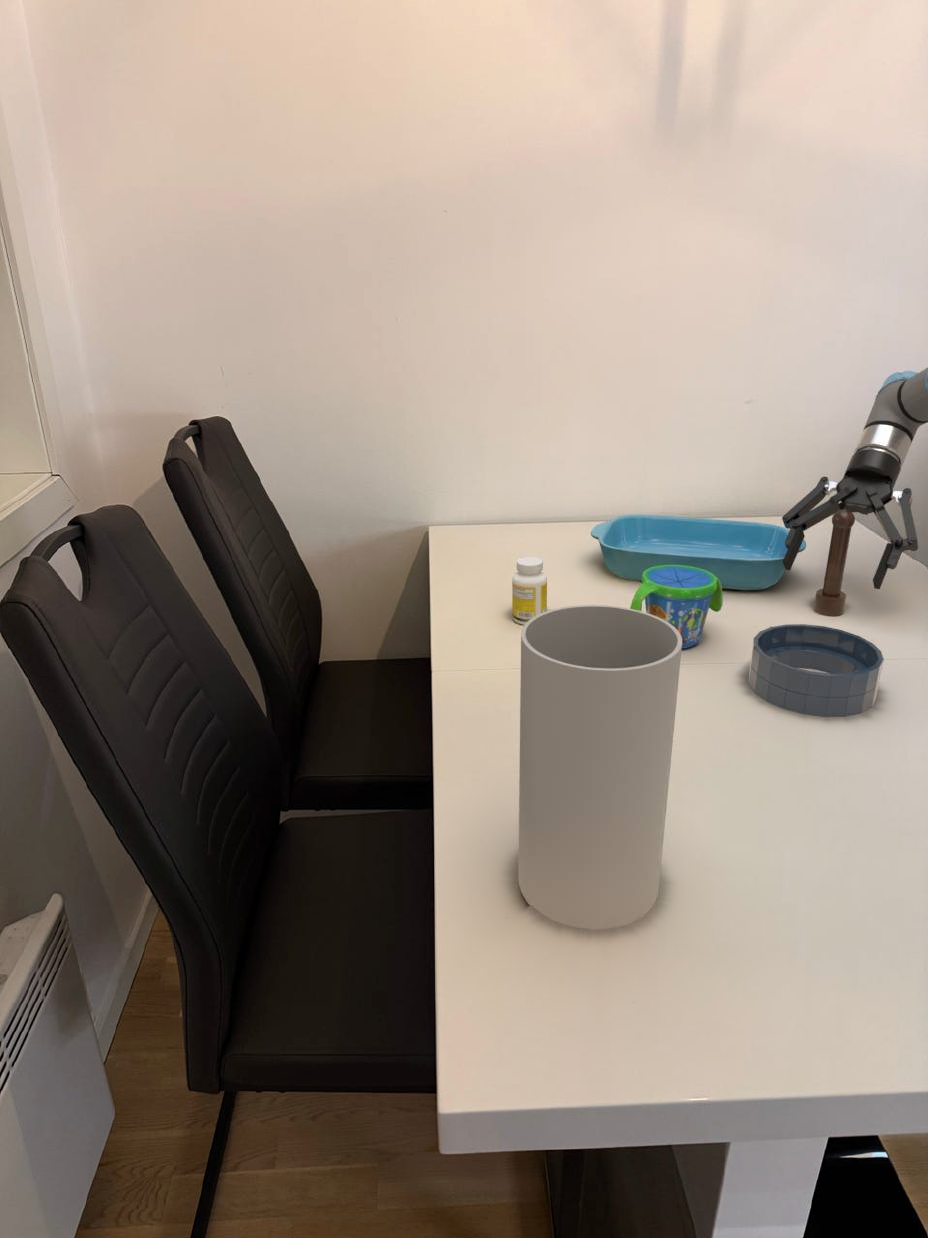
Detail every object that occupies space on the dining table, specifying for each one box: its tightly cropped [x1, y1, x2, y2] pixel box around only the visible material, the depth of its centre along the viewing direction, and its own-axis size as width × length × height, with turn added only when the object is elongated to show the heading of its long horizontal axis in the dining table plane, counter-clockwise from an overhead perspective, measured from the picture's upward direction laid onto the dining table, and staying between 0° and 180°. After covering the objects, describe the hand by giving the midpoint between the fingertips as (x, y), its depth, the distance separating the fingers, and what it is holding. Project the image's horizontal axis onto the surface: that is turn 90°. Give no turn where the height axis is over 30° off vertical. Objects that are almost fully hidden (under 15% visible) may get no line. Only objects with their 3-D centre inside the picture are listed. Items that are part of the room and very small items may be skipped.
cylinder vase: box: [517, 604, 683, 931], centre depth 71 cm, size 12×12×25 cm
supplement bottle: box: [511, 556, 548, 626], centre depth 130 cm, size 5×5×10 cm
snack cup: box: [629, 565, 724, 649], centre depth 122 cm, size 16×10×10 cm
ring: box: [748, 623, 885, 718], centre depth 107 cm, size 15×15×6 cm
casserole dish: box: [590, 514, 807, 591], centre depth 150 cm, size 37×22×7 cm, turn 71°
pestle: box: [813, 509, 856, 617], centre depth 130 cm, size 4×4×17 cm
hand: (829, 575), depth 129 cm, fingers open, 13 cm apart
